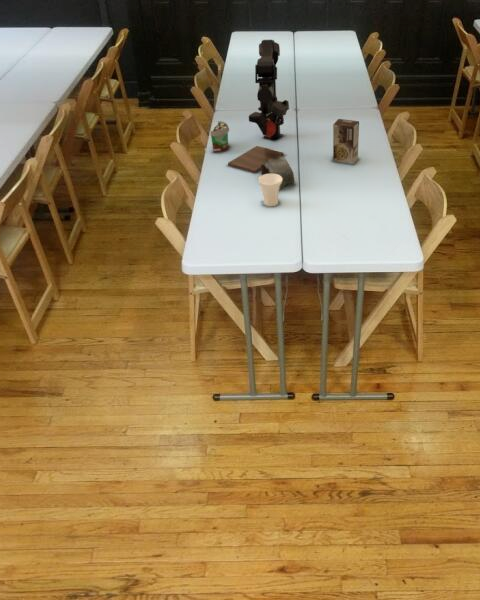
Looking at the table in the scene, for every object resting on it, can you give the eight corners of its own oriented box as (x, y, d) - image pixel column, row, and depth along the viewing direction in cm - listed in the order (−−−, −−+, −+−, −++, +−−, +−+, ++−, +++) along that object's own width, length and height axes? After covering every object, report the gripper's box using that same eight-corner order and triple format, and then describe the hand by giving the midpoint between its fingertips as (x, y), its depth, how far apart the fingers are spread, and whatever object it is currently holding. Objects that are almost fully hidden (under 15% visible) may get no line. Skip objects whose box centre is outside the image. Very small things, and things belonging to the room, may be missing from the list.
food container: (226, 154, 268) (224, 132, 262) (212, 153, 269) (210, 131, 263) (234, 143, 277) (232, 121, 271) (220, 142, 279) (218, 120, 273)
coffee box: (358, 158, 261) (359, 121, 251) (353, 164, 256) (354, 126, 247) (338, 155, 264) (338, 118, 254) (332, 161, 260) (332, 123, 250)
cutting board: (256, 148, 272) (256, 145, 272) (283, 155, 266) (283, 152, 265) (228, 165, 259) (228, 162, 258) (255, 173, 253) (255, 170, 252)
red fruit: (261, 134, 259) (260, 116, 254) (275, 134, 259) (274, 115, 254) (262, 140, 254) (261, 121, 249) (276, 139, 254) (276, 120, 250)
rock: (257, 173, 252) (256, 155, 248) (284, 169, 255) (283, 151, 250) (268, 193, 238) (267, 174, 234) (297, 189, 241) (296, 170, 236)
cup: (275, 210, 227) (274, 185, 221) (254, 204, 232) (253, 180, 226) (288, 200, 233) (288, 176, 227) (268, 195, 237) (266, 170, 231)
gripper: (270, 105, 236) (272, 144, 246) (296, 90, 248) (297, 128, 258) (246, 100, 241) (249, 139, 250) (273, 86, 253) (275, 123, 263)
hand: (268, 132), depth 255 cm, fingers closed on red fruit, 6 cm apart
